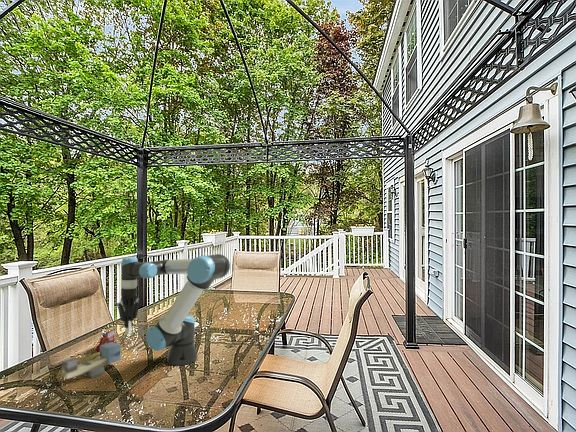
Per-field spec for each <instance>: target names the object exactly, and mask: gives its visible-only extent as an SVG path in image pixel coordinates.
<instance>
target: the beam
mask: <svg viewBox="0 0 576 432" xmlns="http://www.w3.org/2000/svg"><path fill="white" fill-rule="evenodd" d="M77 360H78V359H76V358H75V359H74V358H72V357H70V358H67V359H63V360H61V371H62V372H61V373H62V374H61V376H62V377H61V378H63V379H65V380H68V379H71V378H75V377H77V376H80V375H83V376H86V377H87V378H89V379H93V378H96V377H99V376H102V375H105V366H108V365H111V364H113V363H116V362H118V361H116V362H113V363H110V364H107V358H104V357H101V358H98V359H95V360H92V361H89V362H85V363H82V364H80V365H77ZM121 360H123V352H122V353H121V352H120V360H119V361H121Z"/></svg>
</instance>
